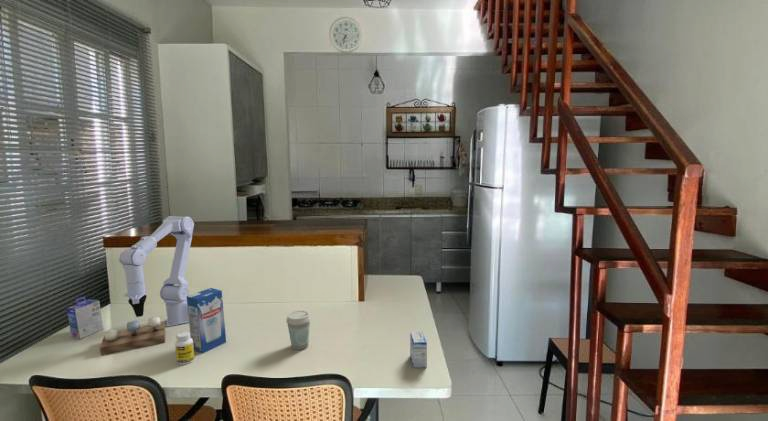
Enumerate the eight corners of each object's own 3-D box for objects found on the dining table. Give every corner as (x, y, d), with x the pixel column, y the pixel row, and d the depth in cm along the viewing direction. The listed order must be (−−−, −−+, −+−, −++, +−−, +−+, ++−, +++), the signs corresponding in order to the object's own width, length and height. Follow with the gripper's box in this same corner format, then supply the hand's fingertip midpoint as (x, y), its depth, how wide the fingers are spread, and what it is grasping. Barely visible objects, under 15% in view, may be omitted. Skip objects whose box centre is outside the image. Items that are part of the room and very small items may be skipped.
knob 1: (119, 340, 156) (118, 328, 156) (118, 344, 153) (117, 333, 152) (106, 342, 155) (105, 331, 154) (105, 347, 151) (103, 335, 150)
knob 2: (161, 326, 162) (160, 316, 162) (161, 330, 159) (159, 319, 158) (149, 329, 161) (148, 318, 160) (149, 333, 157) (147, 321, 156)
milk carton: (202, 353, 147) (197, 299, 144) (191, 349, 150) (186, 296, 147) (226, 342, 156) (221, 290, 152) (215, 338, 159) (211, 287, 156)
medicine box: (410, 356, 142) (409, 331, 141) (423, 355, 143) (422, 331, 141) (413, 368, 134) (413, 342, 133) (427, 367, 135) (427, 342, 133)
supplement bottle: (176, 366, 139) (173, 338, 137) (177, 359, 144) (174, 332, 142) (194, 362, 141) (191, 335, 139) (194, 355, 146) (192, 329, 144)
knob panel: (165, 330, 167) (164, 323, 166) (164, 342, 156) (164, 335, 156) (105, 341, 158) (104, 334, 158) (101, 355, 147) (99, 347, 147)
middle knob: (140, 330, 159) (139, 319, 159) (139, 334, 156) (138, 323, 155) (128, 333, 157) (126, 322, 157) (127, 337, 154) (125, 325, 153)
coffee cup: (291, 354, 145) (289, 321, 143) (285, 344, 153) (283, 313, 151) (315, 348, 149) (313, 316, 147) (308, 338, 157) (306, 308, 155)
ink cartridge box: (94, 327, 172) (89, 293, 169) (104, 328, 170) (99, 294, 168) (69, 337, 162) (64, 301, 160) (80, 339, 161) (74, 303, 158)
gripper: (124, 277, 159) (129, 311, 161) (120, 288, 146) (125, 325, 149) (146, 274, 162) (150, 307, 165) (143, 285, 149) (148, 321, 152)
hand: (139, 315), depth 157 cm, fingers closed
